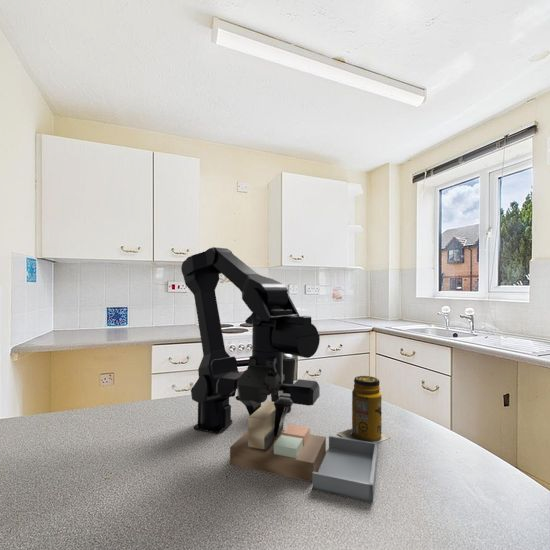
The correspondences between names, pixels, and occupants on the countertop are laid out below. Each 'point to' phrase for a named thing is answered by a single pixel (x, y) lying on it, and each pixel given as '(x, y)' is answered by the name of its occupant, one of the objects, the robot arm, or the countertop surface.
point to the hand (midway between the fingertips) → (266, 434)
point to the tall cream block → (262, 426)
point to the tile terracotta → (297, 432)
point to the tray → (348, 469)
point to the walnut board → (280, 457)
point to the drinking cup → (287, 374)
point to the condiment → (366, 411)
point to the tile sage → (288, 446)
